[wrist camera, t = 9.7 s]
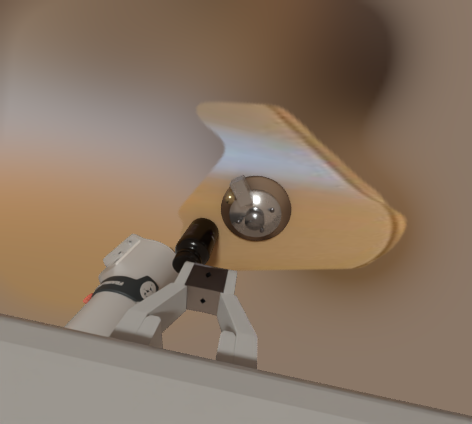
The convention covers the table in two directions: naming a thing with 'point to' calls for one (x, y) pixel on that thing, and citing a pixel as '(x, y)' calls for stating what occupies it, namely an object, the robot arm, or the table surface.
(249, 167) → the table surface
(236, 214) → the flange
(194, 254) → the supplement bottle
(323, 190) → the table surface
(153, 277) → the robot arm
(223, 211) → the walnut base
